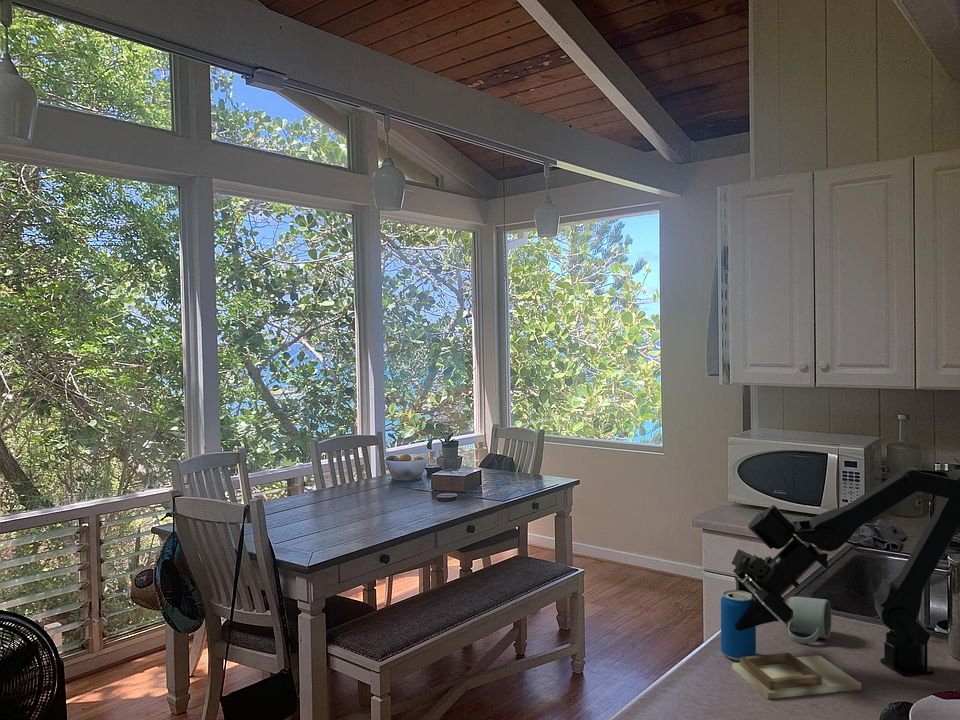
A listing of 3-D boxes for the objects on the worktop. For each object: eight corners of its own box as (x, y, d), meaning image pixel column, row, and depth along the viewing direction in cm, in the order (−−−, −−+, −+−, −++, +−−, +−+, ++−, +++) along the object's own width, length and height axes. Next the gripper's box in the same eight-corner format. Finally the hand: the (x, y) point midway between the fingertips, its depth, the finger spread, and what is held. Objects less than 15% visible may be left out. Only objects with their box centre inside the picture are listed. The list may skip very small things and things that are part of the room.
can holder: (818, 660, 142) (819, 647, 141) (861, 689, 130) (861, 675, 130) (732, 668, 138) (732, 655, 138) (767, 698, 127) (767, 684, 127)
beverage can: (728, 645, 149) (727, 587, 148) (760, 654, 145) (760, 593, 144) (715, 656, 144) (715, 596, 143) (749, 665, 140) (748, 603, 139)
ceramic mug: (791, 623, 160) (790, 588, 160) (832, 631, 155) (832, 595, 155) (779, 640, 151) (779, 604, 151) (822, 650, 147) (822, 612, 146)
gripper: (743, 525, 153) (689, 578, 153) (775, 551, 134) (714, 610, 135) (781, 562, 153) (728, 615, 153) (819, 594, 134) (758, 653, 135)
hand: (730, 622), depth 144 cm, fingers closed on beverage can, 6 cm apart
